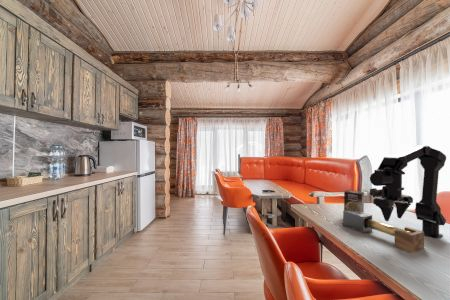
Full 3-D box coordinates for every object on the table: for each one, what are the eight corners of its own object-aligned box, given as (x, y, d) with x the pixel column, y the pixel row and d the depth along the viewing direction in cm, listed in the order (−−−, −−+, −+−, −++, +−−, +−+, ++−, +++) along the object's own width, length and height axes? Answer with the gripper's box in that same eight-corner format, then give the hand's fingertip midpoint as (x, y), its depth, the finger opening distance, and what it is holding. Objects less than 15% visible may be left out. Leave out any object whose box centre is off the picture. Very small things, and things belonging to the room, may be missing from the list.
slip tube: (365, 224, 106) (365, 216, 106) (413, 241, 87) (413, 231, 87) (359, 225, 104) (359, 217, 104) (407, 242, 86) (407, 232, 86)
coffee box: (343, 218, 121) (343, 191, 121) (346, 215, 126) (346, 189, 126) (361, 222, 115) (362, 193, 115) (364, 219, 120) (364, 191, 120)
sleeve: (351, 223, 114) (351, 209, 114) (372, 230, 104) (372, 215, 104) (343, 225, 111) (343, 210, 111) (363, 233, 101) (363, 217, 101)
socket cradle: (406, 242, 91) (406, 226, 91) (424, 248, 86) (424, 231, 86) (394, 246, 88) (394, 230, 88) (411, 252, 82) (411, 235, 82)
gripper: (386, 180, 103) (385, 211, 103) (361, 183, 96) (361, 216, 96) (413, 184, 93) (413, 218, 93) (388, 187, 85) (387, 225, 86)
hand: (393, 219), depth 92 cm, fingers open, 9 cm apart
